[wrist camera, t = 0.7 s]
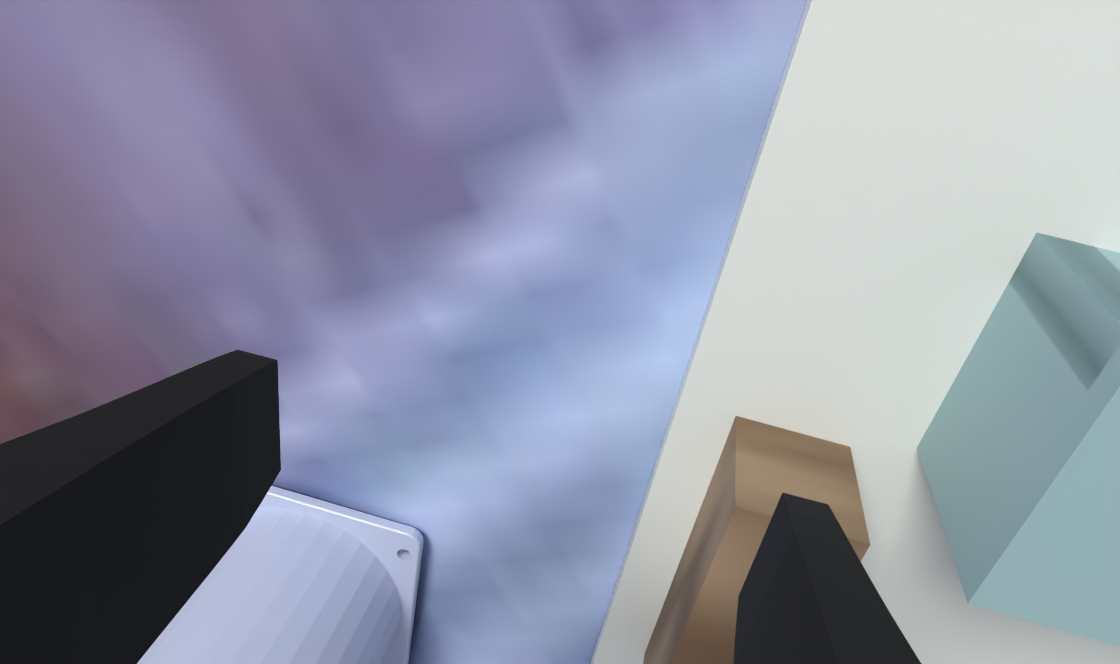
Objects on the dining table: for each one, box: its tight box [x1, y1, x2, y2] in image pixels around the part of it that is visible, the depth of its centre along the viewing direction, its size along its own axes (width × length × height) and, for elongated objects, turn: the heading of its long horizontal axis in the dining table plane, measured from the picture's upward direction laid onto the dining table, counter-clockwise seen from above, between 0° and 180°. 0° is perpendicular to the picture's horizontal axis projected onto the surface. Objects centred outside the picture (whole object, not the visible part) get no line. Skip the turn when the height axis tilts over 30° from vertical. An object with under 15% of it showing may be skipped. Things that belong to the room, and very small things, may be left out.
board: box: [590, 0, 1120, 664], centre depth 21 cm, size 26×15×1 cm, turn 169°
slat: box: [643, 416, 870, 664], centre depth 21 cm, size 10×3×4 cm, turn 169°
